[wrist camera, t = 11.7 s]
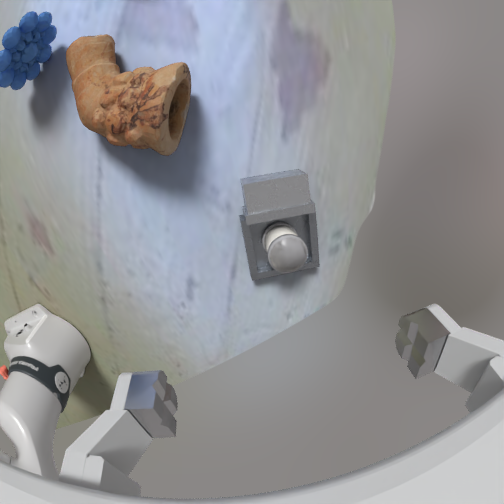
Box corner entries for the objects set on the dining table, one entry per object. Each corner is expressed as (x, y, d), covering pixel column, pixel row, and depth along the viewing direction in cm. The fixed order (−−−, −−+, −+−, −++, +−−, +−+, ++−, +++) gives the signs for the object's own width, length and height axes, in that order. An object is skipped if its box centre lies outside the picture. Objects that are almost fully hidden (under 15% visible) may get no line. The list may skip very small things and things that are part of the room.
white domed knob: (259, 225, 39) (265, 240, 34) (294, 218, 39) (306, 232, 34) (264, 257, 41) (271, 276, 36) (298, 251, 41) (309, 268, 36)
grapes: (53, 17, 21) (11, -4, 11) (79, 28, 24) (38, 4, 13) (14, 82, 25) (-35, 79, 14) (37, 96, 27) (-14, 94, 16)
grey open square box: (250, 272, 43) (253, 287, 39) (232, 180, 37) (234, 186, 33) (314, 258, 43) (323, 272, 39) (305, 168, 37) (316, 173, 33)
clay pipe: (128, 166, 37) (222, 136, 33) (81, 190, 28) (189, 152, 24) (97, 55, 29) (186, 9, 25) (45, 55, 20) (144, -14, 16)
